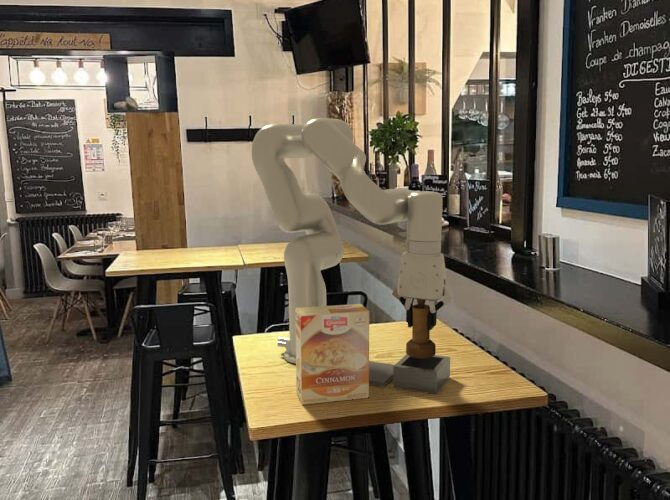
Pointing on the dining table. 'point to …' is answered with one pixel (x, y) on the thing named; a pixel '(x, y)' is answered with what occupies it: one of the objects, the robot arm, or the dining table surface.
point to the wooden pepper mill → (420, 333)
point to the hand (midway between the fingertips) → (421, 326)
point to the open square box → (421, 373)
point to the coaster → (380, 373)
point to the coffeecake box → (332, 353)
